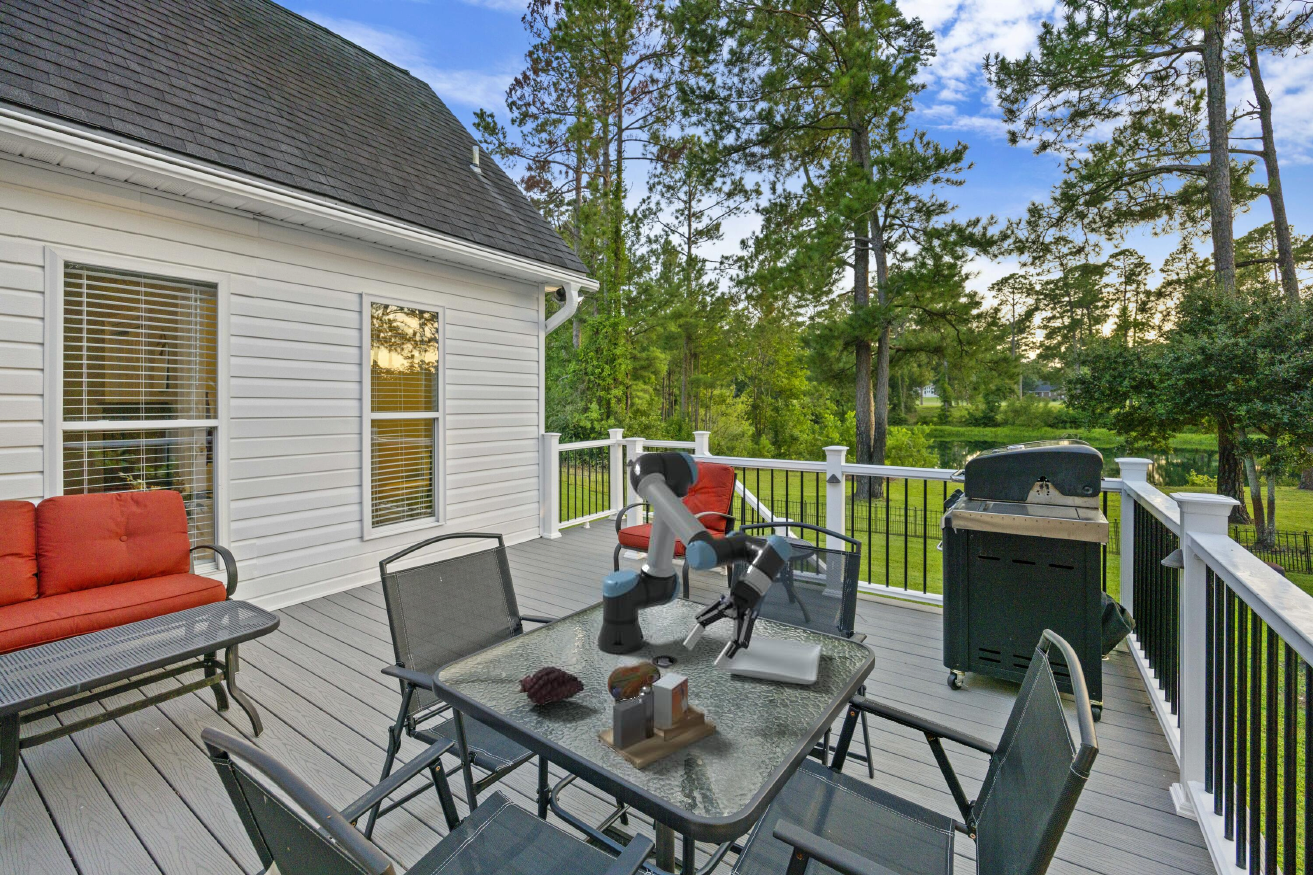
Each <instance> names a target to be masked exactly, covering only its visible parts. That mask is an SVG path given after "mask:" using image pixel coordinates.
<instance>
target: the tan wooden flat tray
mask: <svg viewBox="0 0 1313 875" xmlns="http://www.w3.org/2000/svg"><path fill="white" fill-rule="evenodd" d="M705 714H706V713H705V712H703V711H701V710H699V709H698V708H695V707H694V706H692V705H690V704H688V719H687V720H684V721H682V722H680V723H678V724H676V725H673V726H671V727H669V728H667V729H665V730H662V729H659V728H656V727H654V736H653V737H652V738H649V739H646V740H644V741H641V742H639V743H637V744H635V745H633V746H630V747H628V748H626V749H624V750H622V751H621V750H620V749H618V748H617V747H615V746H614V745H613V727H611V728H609V729H607V730H605V731H602V732H600V733H597V739H598V738H599V739H601V740H602V741H603V742H604V743H606V744H607V745H608V746H609V747H611V748H612V749H613V750H615V751H616V752H617V753H618V754H620V755H621V756H622V757H623V758H624V759H626V760H627V761H628V762H630V763H631V764H632V765H633V766H632V765H631V764H630V763H629V764H630V765H631V766H632V767H634V766H635V767H636V768H637V770H640V769H642V767H643V768H645V767H646V766H648V765H651V764H653V763H655V762H656V761H658V760H661V759H663V758H664V757H667V756H669V755H670V754H673V753H675V752H677V751H679V750H680V749H683V748H685V747H687V746H689V745H691V744H693V743H695V742H697V741H699V740H701V739H702V738H705V737H708V736H709V735H711V734H713V733H715V732H717V724H715V723H714V722H712V721H710V720H708V719H706V715H705ZM623 758H622V759H623ZM624 759H623V760H624ZM626 760H625V761H626ZM627 761H626V762H627ZM628 762H627V763H628ZM644 766H645V767H644ZM635 767H634V768H635ZM636 768H635V769H636Z"/></svg>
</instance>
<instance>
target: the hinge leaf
mask: <svg viewBox="0 0 1313 875" xmlns="http://www.w3.org/2000/svg"><path fill="white" fill-rule="evenodd" d="M612 717H613V718H612V723H613V725H612V728H613V745H614V746H615V747H617V748H618V749H620V750H621V751H622V750H624V749H626V748H628V747H630V746H633V745H635V744H637V743H639V742H641V741H644V740H646V739H649V738H652V737H653V736H654V691H653V690H650V686H644V687H643V690H640V691H639V697H638V696H637V697H635V698H632V699H629V700H625V701H621V702H620V703H618V704H616V705H612Z"/></svg>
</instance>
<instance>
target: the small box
mask: <svg viewBox="0 0 1313 875" xmlns="http://www.w3.org/2000/svg"><path fill="white" fill-rule="evenodd" d="M652 690H653V691H654V727H656V728H659V729H662V730H665V729H667V728H669V727H671V726H673V725H676V724H678V723H680V722H682V721H684V720H687V719H688V705H689V701H688V699H689V697H688V696H689V695H688V694H689V677H687V676H685V675H681V674H679V673H678V674H677V673H674V672H668V673H666V674H665V675H664V676H662V677H661V678H660V679H659V680H658V681H656V682H655V683H653V684H652Z"/></svg>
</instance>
